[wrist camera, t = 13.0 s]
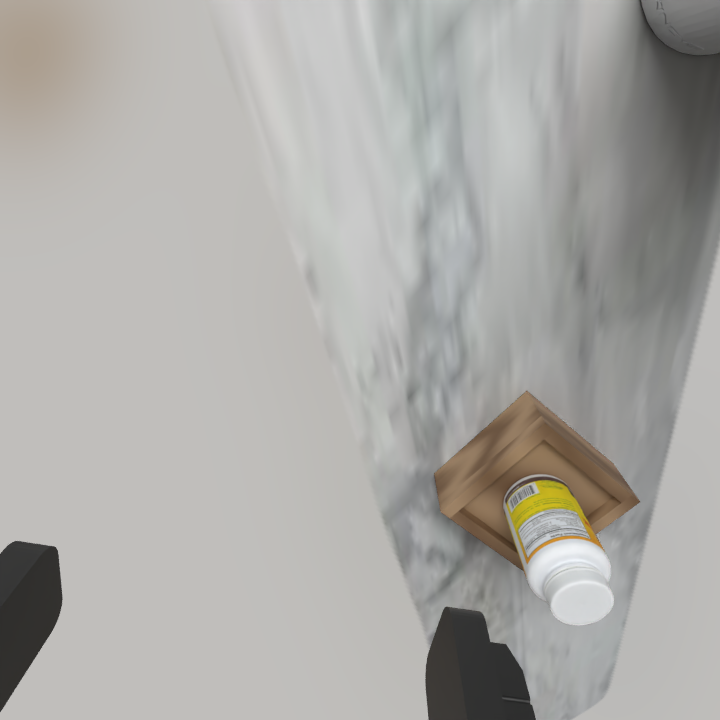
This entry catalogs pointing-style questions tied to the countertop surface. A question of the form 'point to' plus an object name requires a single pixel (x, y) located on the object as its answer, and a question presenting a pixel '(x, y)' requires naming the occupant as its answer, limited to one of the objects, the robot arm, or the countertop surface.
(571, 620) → the supplement bottle
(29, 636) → the robot arm
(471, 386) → the countertop surface
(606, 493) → the walnut tray
